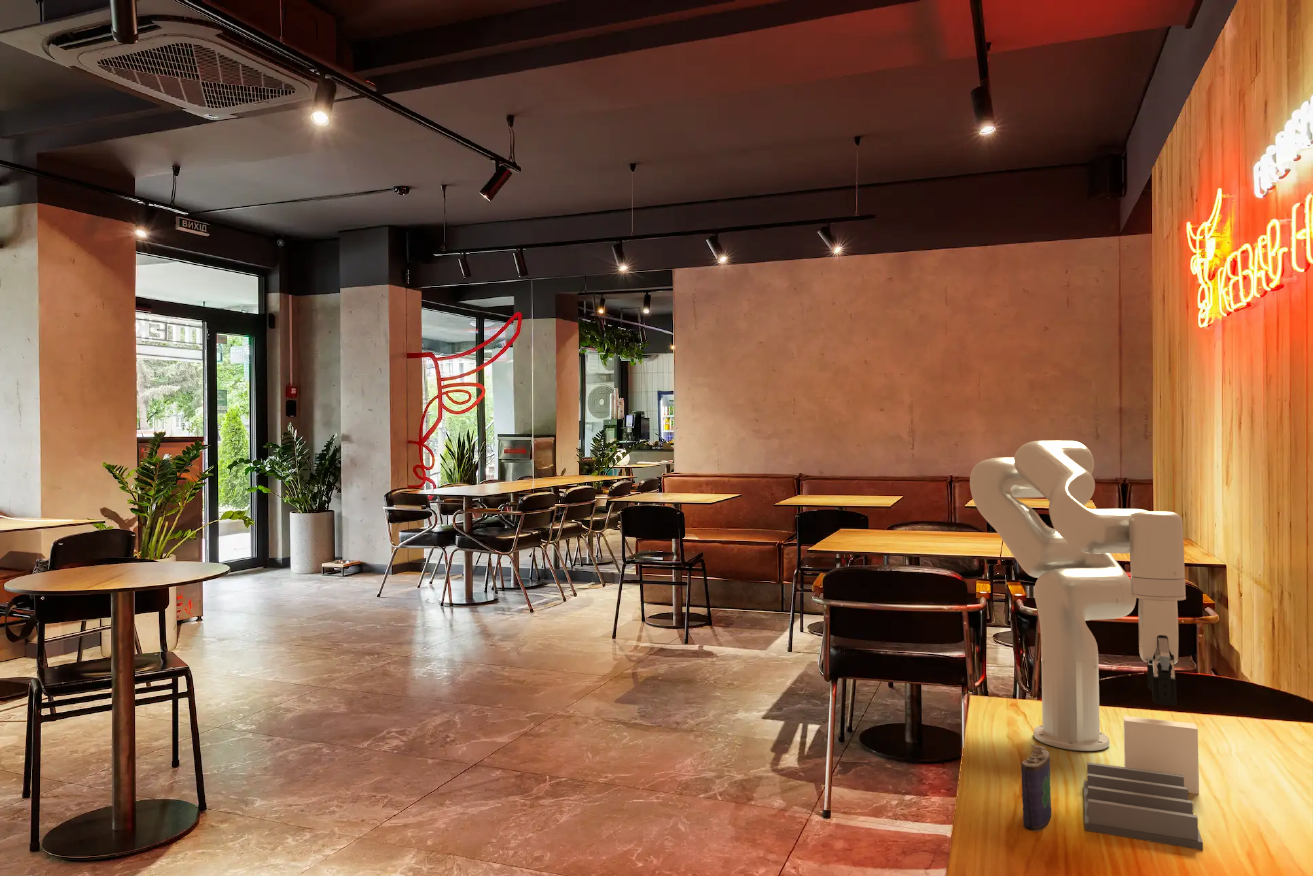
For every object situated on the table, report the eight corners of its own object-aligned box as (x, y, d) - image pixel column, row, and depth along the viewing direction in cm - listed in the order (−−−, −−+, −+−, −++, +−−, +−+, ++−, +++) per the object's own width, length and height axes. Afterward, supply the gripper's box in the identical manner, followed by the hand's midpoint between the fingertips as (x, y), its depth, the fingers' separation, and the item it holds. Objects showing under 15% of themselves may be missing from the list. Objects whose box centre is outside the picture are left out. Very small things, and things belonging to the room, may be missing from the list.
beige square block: (1124, 777, 140) (1123, 715, 140) (1196, 787, 136) (1195, 723, 136) (1125, 783, 137) (1124, 720, 138) (1199, 794, 133) (1197, 729, 133)
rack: (1083, 786, 136) (1083, 761, 136) (1187, 801, 130) (1186, 775, 130) (1084, 830, 120) (1084, 801, 120) (1202, 850, 114) (1202, 819, 114)
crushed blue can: (1035, 807, 128) (1034, 735, 128) (1056, 812, 126) (1055, 738, 126) (1019, 829, 120) (1018, 752, 121) (1042, 834, 119) (1041, 756, 119)
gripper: (1128, 582, 147) (1132, 683, 146) (1134, 593, 131) (1138, 707, 130) (1179, 584, 143) (1183, 688, 142) (1191, 596, 128) (1196, 713, 127)
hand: (1162, 697), depth 136 cm, fingers open, 9 cm apart
